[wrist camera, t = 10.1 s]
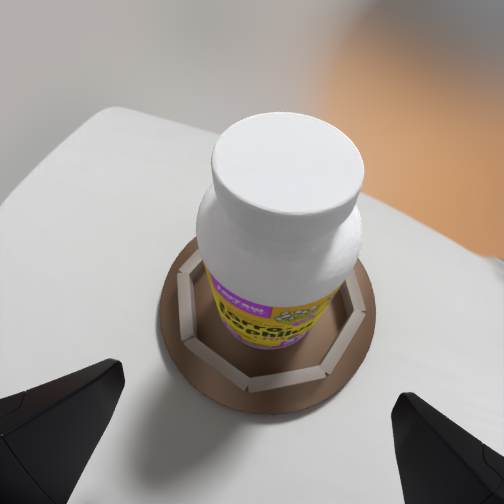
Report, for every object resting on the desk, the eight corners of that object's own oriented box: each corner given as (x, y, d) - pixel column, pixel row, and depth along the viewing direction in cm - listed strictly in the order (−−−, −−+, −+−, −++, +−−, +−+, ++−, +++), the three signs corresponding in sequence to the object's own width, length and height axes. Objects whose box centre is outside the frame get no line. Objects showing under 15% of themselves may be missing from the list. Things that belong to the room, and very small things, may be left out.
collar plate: (172, 425, 16) (154, 428, 13) (162, 230, 24) (149, 201, 20) (393, 384, 17) (420, 377, 14) (339, 208, 25) (349, 177, 21)
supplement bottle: (208, 340, 18) (137, 223, 7) (231, 252, 22) (212, 90, 10) (311, 360, 18) (404, 270, 6) (323, 268, 21) (382, 116, 10)
